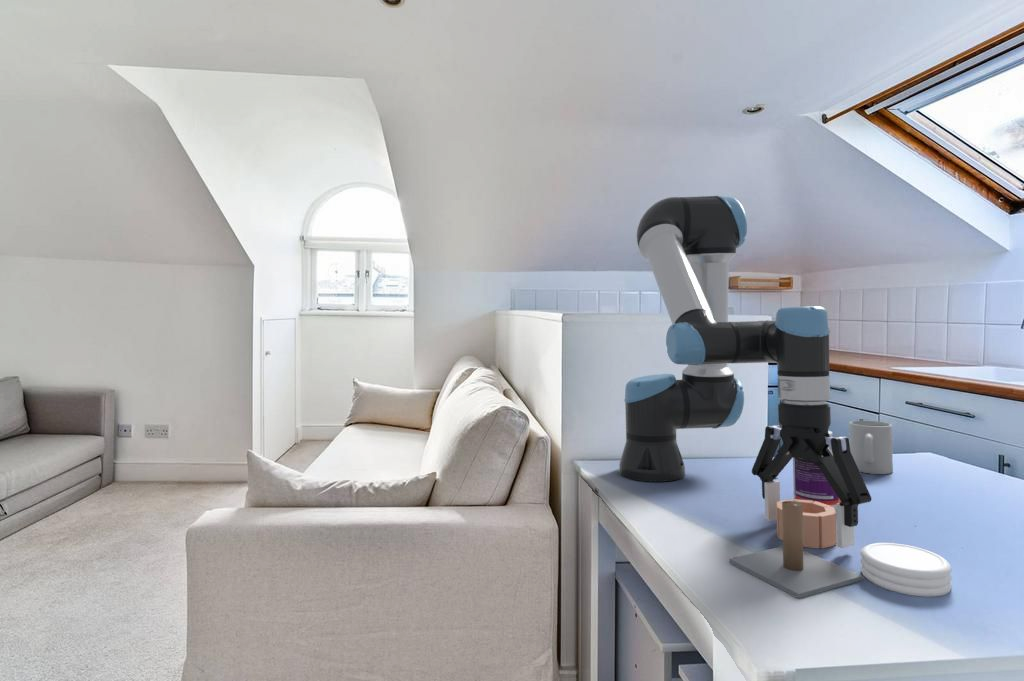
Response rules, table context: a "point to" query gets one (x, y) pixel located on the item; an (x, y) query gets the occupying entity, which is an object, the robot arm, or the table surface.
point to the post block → (795, 561)
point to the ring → (813, 523)
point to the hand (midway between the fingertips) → (806, 531)
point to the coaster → (906, 569)
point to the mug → (871, 446)
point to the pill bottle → (812, 482)
